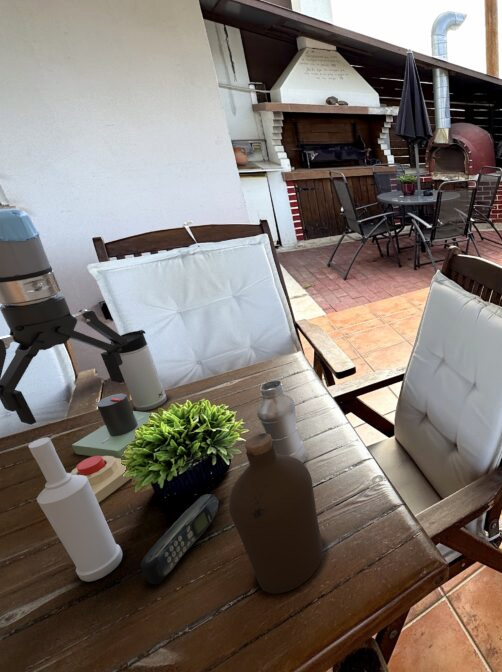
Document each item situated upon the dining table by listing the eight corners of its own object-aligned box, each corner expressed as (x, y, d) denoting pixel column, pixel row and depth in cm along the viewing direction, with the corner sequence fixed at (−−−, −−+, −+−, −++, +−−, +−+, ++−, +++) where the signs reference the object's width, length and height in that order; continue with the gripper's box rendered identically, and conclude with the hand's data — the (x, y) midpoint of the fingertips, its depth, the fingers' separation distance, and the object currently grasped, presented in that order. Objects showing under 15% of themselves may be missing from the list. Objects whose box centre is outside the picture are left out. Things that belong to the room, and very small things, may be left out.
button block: (51, 499, 76) (42, 483, 75) (102, 463, 85) (96, 448, 83) (95, 505, 75) (87, 489, 74) (143, 469, 83) (137, 454, 82)
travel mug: (172, 400, 105) (148, 333, 98) (140, 414, 100) (113, 343, 93) (163, 393, 108) (139, 327, 101) (131, 406, 103) (104, 337, 96)
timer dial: (103, 435, 89) (89, 404, 86) (126, 421, 94) (113, 391, 91) (121, 437, 89) (108, 406, 86) (143, 423, 93) (131, 393, 90)
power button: (74, 475, 77) (70, 468, 77) (95, 461, 81) (92, 454, 80) (90, 477, 77) (86, 470, 76) (110, 463, 80) (107, 456, 79)
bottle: (72, 588, 61) (0, 460, 52) (89, 558, 66) (25, 435, 57) (115, 575, 63) (53, 449, 54) (129, 546, 67) (73, 426, 59)
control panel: (75, 454, 87) (71, 444, 86) (132, 418, 98) (128, 409, 98) (122, 460, 86) (118, 450, 85) (174, 423, 97) (171, 414, 96)
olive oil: (337, 565, 64) (310, 441, 56) (263, 615, 58) (219, 483, 49) (314, 522, 72) (287, 406, 63) (246, 562, 65) (206, 438, 56)
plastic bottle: (313, 464, 85) (295, 384, 78) (279, 483, 80) (256, 399, 73) (301, 449, 89) (283, 372, 82) (268, 466, 84) (246, 385, 77)
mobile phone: (152, 565, 60) (221, 483, 74) (132, 565, 60) (205, 482, 74) (162, 587, 62) (229, 502, 75) (143, 586, 62) (213, 502, 75)
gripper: (-70, 332, 58) (-5, 448, 65) (128, 278, 80) (160, 369, 88) (-98, 325, 60) (-32, 439, 67) (102, 275, 82) (136, 364, 90)
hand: (77, 400), depth 77 cm, fingers open, 13 cm apart
